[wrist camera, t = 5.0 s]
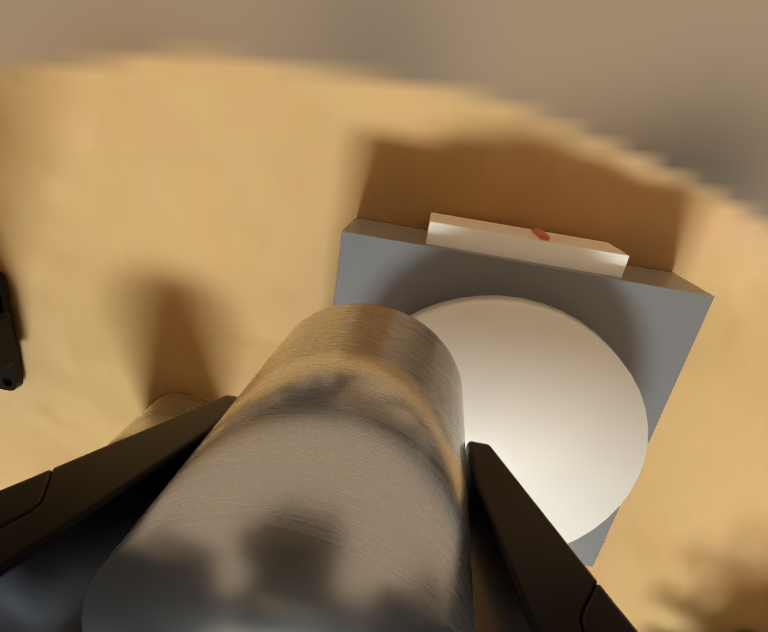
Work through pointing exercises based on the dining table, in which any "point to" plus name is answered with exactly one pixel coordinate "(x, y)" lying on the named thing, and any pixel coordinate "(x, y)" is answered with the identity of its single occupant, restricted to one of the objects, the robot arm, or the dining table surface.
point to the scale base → (533, 294)
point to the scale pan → (546, 404)
